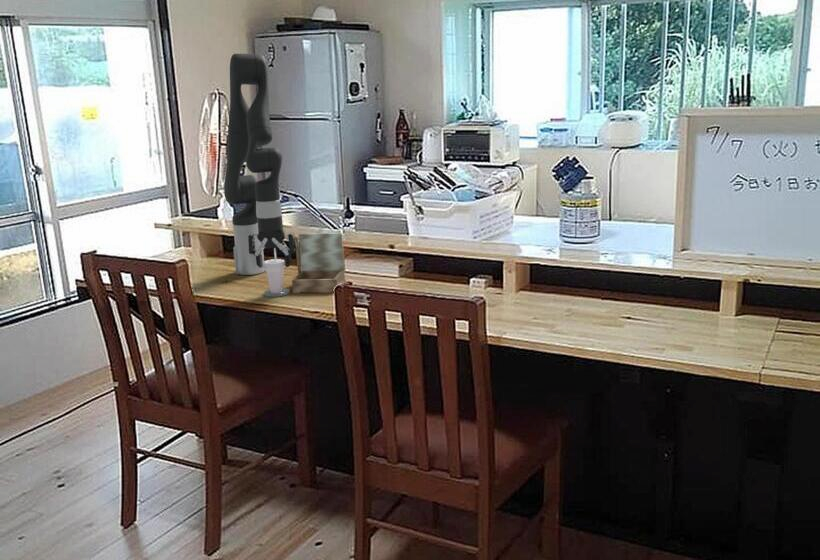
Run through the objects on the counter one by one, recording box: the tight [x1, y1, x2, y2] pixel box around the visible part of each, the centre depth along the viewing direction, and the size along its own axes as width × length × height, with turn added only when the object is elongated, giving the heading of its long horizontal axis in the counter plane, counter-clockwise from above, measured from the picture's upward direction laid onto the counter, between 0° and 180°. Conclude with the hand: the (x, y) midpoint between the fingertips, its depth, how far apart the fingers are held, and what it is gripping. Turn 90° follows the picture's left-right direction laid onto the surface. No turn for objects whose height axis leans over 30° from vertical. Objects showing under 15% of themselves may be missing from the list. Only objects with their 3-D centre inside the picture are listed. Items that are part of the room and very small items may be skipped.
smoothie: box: [264, 248, 285, 293], centre depth 249 cm, size 6×6×14 cm
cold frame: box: [291, 232, 346, 294], centre depth 254 cm, size 15×13×16 cm
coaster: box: [263, 287, 291, 298], centre depth 251 cm, size 8×8×1 cm
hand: (274, 266), depth 249 cm, fingers open, 8 cm apart
